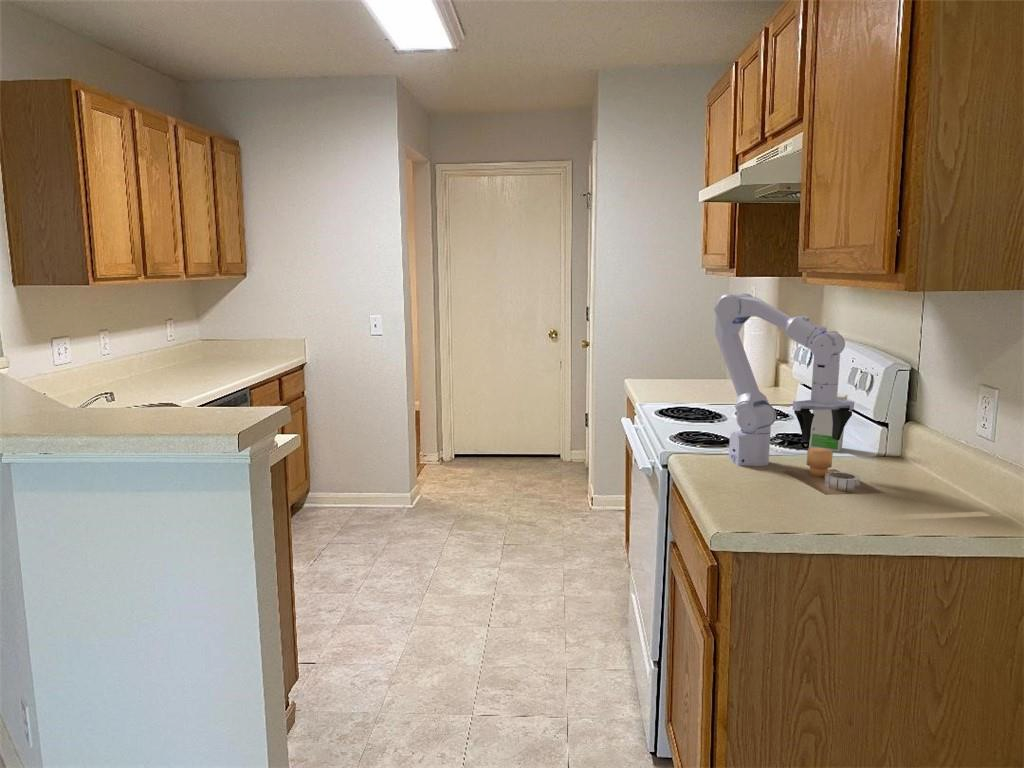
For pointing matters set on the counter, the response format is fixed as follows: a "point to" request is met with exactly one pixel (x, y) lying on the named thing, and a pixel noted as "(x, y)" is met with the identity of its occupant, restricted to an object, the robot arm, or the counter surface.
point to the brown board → (820, 481)
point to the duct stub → (842, 481)
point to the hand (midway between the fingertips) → (821, 439)
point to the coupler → (819, 461)
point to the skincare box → (825, 429)
